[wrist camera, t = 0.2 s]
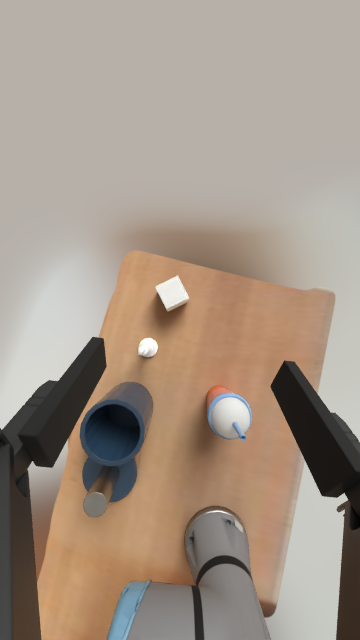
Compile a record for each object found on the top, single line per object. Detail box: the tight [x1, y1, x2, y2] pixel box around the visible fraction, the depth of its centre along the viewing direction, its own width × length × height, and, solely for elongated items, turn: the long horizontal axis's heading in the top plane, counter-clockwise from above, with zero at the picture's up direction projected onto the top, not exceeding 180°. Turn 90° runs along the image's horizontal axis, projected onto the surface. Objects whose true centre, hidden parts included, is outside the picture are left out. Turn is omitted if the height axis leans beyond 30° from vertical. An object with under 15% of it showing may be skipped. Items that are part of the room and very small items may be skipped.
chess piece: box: [138, 338, 158, 357], centre depth 43 cm, size 5×5×10 cm
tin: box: [80, 382, 153, 466], centre depth 41 cm, size 12×12×12 cm
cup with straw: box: [207, 386, 252, 441], centre depth 39 cm, size 9×9×18 cm
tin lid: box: [83, 457, 137, 517], centre depth 42 cm, size 13×13×9 cm
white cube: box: [155, 276, 189, 311], centre depth 46 cm, size 6×6×6 cm
